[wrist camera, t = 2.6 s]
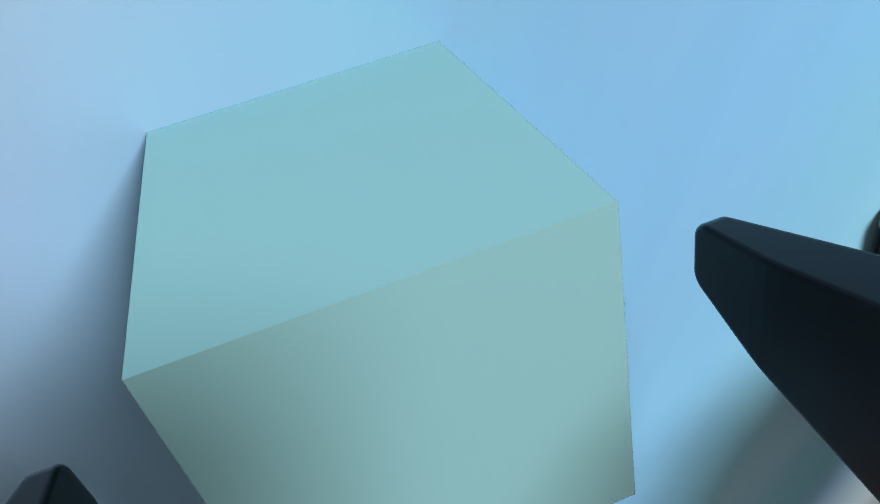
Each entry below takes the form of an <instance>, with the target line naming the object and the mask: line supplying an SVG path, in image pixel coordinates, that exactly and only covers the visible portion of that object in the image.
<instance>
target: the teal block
mask: <svg viewBox="0 0 880 504" xmlns="http://www.w3.org/2000/svg"><path fill="white" fill-rule="evenodd" d="M122 381H123V383H124V384H125V386H126V387H127V389H128V390H129V392H130V393H131V395H132V396H133V398H134V399H135V400H136V402H137V403H138V405H139V406H140V408H141V409H142V411H143V412H144V414H145V415H146V417H147V418H148V420H149V421H150V422H151V424H152V425H153V427H154V428H155V430H156V431H157V433H158V434H159V436H160V437H161V439H162V440H163V442H164V443H165V444H166V446H167V447H168V449H169V450H170V452H171V453H172V455H173V456H174V458H175V459H176V461H177V462H178V464H179V465H180V467H181V468H182V469H183V471H184V472H185V474H186V475H187V477H188V478H189V480H190V481H191V483H192V484H193V486H194V487H195V489H196V490H197V491H198V493H199V494H200V496H201V497H202V499H203V500H204V502H205V503H206V504H613V503H615V502H617V501H620V500H622V499H624V498H627V497H629V496H631V495H634V494H635V483H634V466H633V449H632V432H631V415H630V398H629V381H628V364H627V346H626V329H625V312H624V295H623V278H622V261H621V244H620V227H619V210H618V201H617V200H616V199H615V198H614V197H613V196H612V195H611V194H609V193H608V192H607V191H606V190H605V189H604V188H603V187H602V186H601V185H599V184H598V183H597V182H596V181H595V180H594V179H593V178H592V177H591V176H589V175H588V174H587V173H586V172H585V171H584V170H583V169H582V168H581V167H579V166H578V165H577V164H576V163H575V162H574V161H573V160H572V159H571V158H569V157H568V156H567V155H566V154H565V153H564V152H563V151H562V150H561V149H559V148H558V147H557V146H556V145H555V144H554V143H553V142H552V141H550V140H549V139H548V138H547V137H546V136H545V135H544V134H543V133H542V132H540V131H539V130H538V129H537V128H536V127H535V126H534V125H533V124H532V123H530V122H529V121H528V120H527V119H526V118H525V117H524V116H523V115H522V114H520V113H519V112H518V111H517V110H516V109H515V108H514V107H513V106H512V105H510V104H509V103H508V102H507V101H506V100H505V99H504V98H503V97H502V96H500V95H499V94H498V93H497V92H496V91H495V90H494V89H493V88H492V87H490V86H489V85H488V84H487V83H486V82H485V81H484V80H483V79H482V78H480V77H479V76H478V75H477V74H476V73H475V72H474V71H473V70H471V69H470V68H469V67H468V66H467V65H466V64H465V63H464V62H463V61H461V60H460V59H459V58H458V57H457V56H456V55H455V54H454V53H453V52H451V51H450V50H449V49H448V48H447V47H446V46H445V45H444V44H443V43H441V42H440V41H437V42H434V43H431V44H427V45H424V46H421V47H418V48H415V49H411V50H408V51H405V52H402V53H399V54H395V55H392V56H389V57H386V58H383V59H380V60H376V61H373V62H370V63H367V64H364V65H360V66H357V67H354V68H351V69H348V70H344V71H341V72H338V73H335V74H332V75H328V76H325V77H322V78H319V79H316V80H313V81H309V82H306V83H303V84H300V85H297V86H293V87H290V88H287V89H284V90H281V91H277V92H274V93H271V94H268V95H265V96H262V97H258V98H255V99H252V100H249V101H246V102H242V103H239V104H236V105H233V106H230V107H226V108H223V109H220V110H217V111H214V112H210V113H207V114H204V115H201V116H198V117H195V118H191V119H188V120H185V121H182V122H179V123H175V124H172V125H169V126H166V127H163V128H159V129H156V130H153V131H150V132H147V136H146V146H145V156H144V166H143V176H142V186H141V195H140V205H139V215H138V225H137V235H136V244H135V254H134V264H133V274H132V284H131V293H130V303H129V313H128V323H127V333H126V343H125V352H124V362H123V372H122Z"/></svg>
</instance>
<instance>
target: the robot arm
mask: <svg viewBox="0 0 880 504" xmlns="http://www.w3.org/2000/svg"><path fill="white" fill-rule="evenodd" d="M694 270H695V276H696V279H697V281H698V283H699V285H700V287H701V288H702V290H703V291H704V292H705V294H706V295H707V297H708V298H709V299H710V301H711V302H712V304H713V305H714V306H715V308H716V309H717V311H718V312H719V313H720V315H721V316H722V318H723V319H724V320H725V322H726V323H727V325H728V326H729V327H730V329H731V330H732V332H733V333H734V334H735V336H736V337H737V339H738V340H739V341H740V343H741V344H742V346H743V347H744V348H745V350H746V351H747V353H748V354H749V355H750V356H751V358H752V359H753V360H754V362H755V363H756V364H757V366H758V367H759V368H760V369H761V370H762V371H763V373H764V374H765V375H766V376H767V377H768V378H769V380H770V381H771V382H772V383H773V384H774V385H775V386H776V387H777V388H778V390H779V391H780V392H781V393H782V394H783V395H784V396H785V397H786V398H787V400H788V401H789V402H790V403H791V404H792V405H793V406H794V407H795V408H796V410H797V411H798V412H799V413H800V414H801V415H802V416H803V417H804V419H805V420H806V421H807V422H808V423H809V424H810V425H811V426H812V427H813V429H814V430H815V431H816V432H817V433H818V434H819V435H820V436H821V437H822V439H823V440H824V441H825V442H826V443H827V444H828V445H829V446H830V447H831V449H832V450H833V451H834V452H835V453H836V454H837V455H838V456H839V458H840V459H841V460H842V461H843V462H844V463H845V464H846V465H847V466H848V468H849V469H850V470H851V471H852V472H853V473H854V474H855V475H856V476H857V478H858V479H859V480H860V481H861V482H862V483H863V484H864V485H865V487H866V488H867V489H868V490H869V491H870V492H871V493H872V494H873V495H874V497H875V498H876V499H877V500H878V501H879V502H880V243H879V248H878V252H877V254H874V253H870V252H866V251H862V250H858V249H854V248H850V247H846V246H842V245H838V244H834V243H830V242H826V241H822V240H818V239H814V238H810V237H806V236H802V235H798V234H794V233H790V232H786V231H782V230H778V229H774V228H770V227H766V226H762V225H758V224H754V223H750V222H746V221H742V220H738V219H734V218H729V217H720V218H717V219H714V220H712V221H709V222H706V223H703V224H701V225H700V226H699V227H698V228H697V230H696V232H695V263H694ZM6 504H98V503H97V502H96V500H95V498H94V497H93V496H92V495H91V494H90V492H89V491H88V490H87V489H86V488H85V486H84V485H83V484H82V483H81V482H80V480H79V479H78V478H77V477H76V476H75V474H74V473H73V472H72V471H71V470H70V469H69V468H68V467H67V466H65V465H63V464H57V465H53V466H51V467H48V468H45V469H43V470H40V471H37V472H35V473H32V474H30V475H29V476H27V477H26V478H25V479H24V480H23V482H22V483H21V484H20V486H19V487H18V488H17V490H16V491H15V492H14V494H13V495H12V496H11V498H10V499H9V500H8V502H7V503H6Z"/></svg>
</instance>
